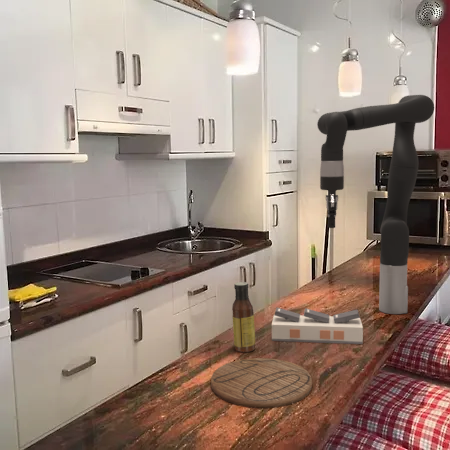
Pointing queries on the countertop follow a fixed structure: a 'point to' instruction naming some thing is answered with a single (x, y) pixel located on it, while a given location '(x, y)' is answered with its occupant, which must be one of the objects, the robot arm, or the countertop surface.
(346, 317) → the plate
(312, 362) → the countertop surface
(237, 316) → the sauce bottle
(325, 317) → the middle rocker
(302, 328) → the switch console
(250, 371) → the trivet
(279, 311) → the far rocker
